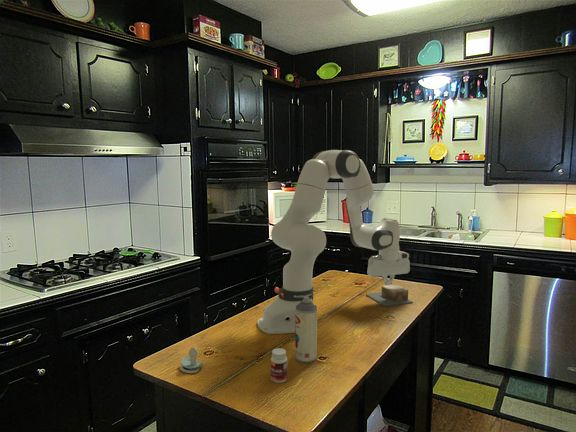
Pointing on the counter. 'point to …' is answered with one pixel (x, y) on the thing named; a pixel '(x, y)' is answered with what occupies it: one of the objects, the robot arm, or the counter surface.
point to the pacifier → (191, 362)
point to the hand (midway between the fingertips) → (388, 284)
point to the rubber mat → (386, 300)
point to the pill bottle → (279, 365)
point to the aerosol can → (306, 331)
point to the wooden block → (394, 292)
